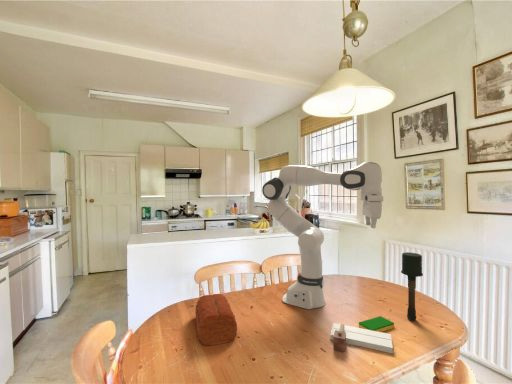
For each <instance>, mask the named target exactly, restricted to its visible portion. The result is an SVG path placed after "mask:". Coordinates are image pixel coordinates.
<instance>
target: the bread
mask: <svg viewBox="0 0 512 384" xmlns="http://www.w3.org/2000/svg"><path fill="white" fill-rule="evenodd" d="M195 321H196V330H197V337H198V339H199V341H200V342H201V344H203V346H214V345H220V344H228V343H230V342H233V341H234V340H235V338H236V337H237V335H238V333H237V331H238V324H237V321H236V316H235V315H234V312H233V310H232V308H231V305H230V302H229V300H228V299H227V296H225V295H223V294H221V293H214V294H207V295H206V294H203V295H202V296H200V297H199V298H198V300H197V303H196V305H195Z"/></svg>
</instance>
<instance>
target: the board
mask: <svg viewBox="0 0 512 384" xmlns="http://www.w3.org/2000/svg"><path fill="white" fill-rule="evenodd" d="M340 324H341V323H335V322H333V323H332V328H331V331H330V334H329V335H330V337H329V338H330V341H333V337H334V333H335V330H337V331H339V329H340ZM344 332H346V344H348V345H353V346H358V347H362V348H366V349H370V350H376V351H380V352H384V353H388V354H389V353H390V354H394V352H393V351H394V345H393V340H392V334H391V333H387V332H383V331H382V332H377V331H372V330H367V329H362V328H360V327H357V326H351V325H346V324H344Z"/></svg>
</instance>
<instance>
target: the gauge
mask: <svg viewBox="0 0 512 384" xmlns="http://www.w3.org/2000/svg"><path fill="white" fill-rule="evenodd" d="M339 324H340V329H339V331H337V330H335V333H334V337H333V340H332V341H333V345H332V346H333V347H332V348H333V351H335V352H339V351H340V353H344V352H346V347H347V343H346V332H344V325H345V324H343V323H339Z"/></svg>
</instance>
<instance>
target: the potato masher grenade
mask: <svg viewBox="0 0 512 384" xmlns="http://www.w3.org/2000/svg"><path fill="white" fill-rule="evenodd" d="M400 273H401V274H403V275H405V276H407V288H408V292H407V293H408V294H407V295H408V298H407V300H408V301H407V302H408V305H407V306H408V307H407V311H406V318H407V319H408V321H411V322H412V321H413V322H414V321H416V320H417V310H416V287H417V285H416V284H417V283H416V282H417V277H419V278H420V277H423V276H424V274H423V256H422V254H419V253H415V252H407V251H406V252H402V254H401V271H400Z"/></svg>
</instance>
